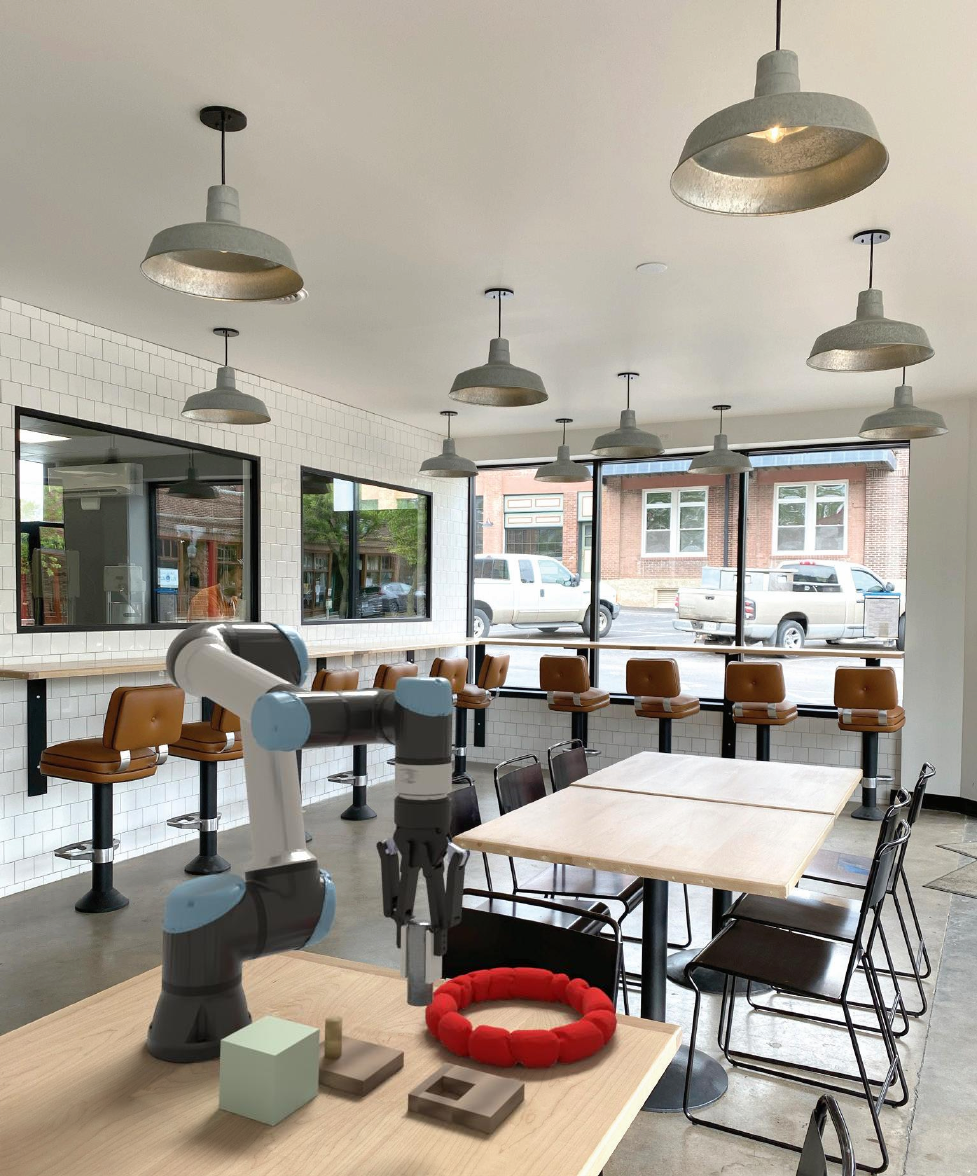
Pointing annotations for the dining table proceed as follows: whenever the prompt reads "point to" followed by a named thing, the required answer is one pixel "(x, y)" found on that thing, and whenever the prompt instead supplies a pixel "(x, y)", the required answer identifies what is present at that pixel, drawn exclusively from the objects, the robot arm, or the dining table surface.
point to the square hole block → (467, 1097)
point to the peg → (418, 964)
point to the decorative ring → (521, 1044)
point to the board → (354, 1061)
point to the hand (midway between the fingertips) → (421, 976)
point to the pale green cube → (269, 1069)
